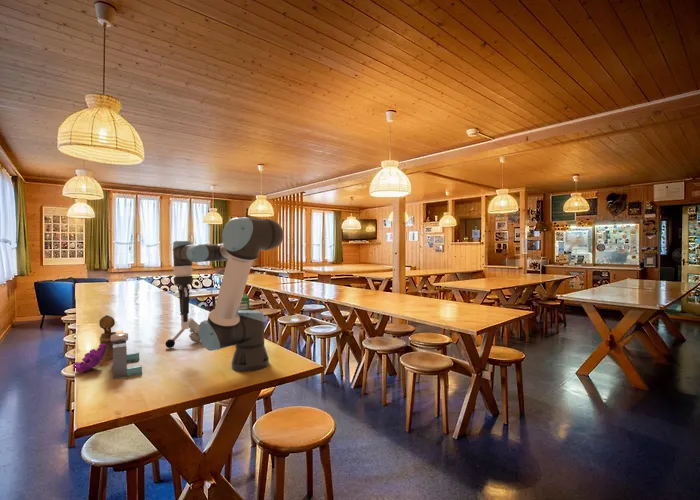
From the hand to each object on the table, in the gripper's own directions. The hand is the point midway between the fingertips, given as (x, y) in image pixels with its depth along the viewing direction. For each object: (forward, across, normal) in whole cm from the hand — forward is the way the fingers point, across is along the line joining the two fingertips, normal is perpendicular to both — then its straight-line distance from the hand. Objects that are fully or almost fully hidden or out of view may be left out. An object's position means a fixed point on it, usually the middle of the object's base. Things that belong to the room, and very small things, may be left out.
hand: (185, 328), depth 159 cm
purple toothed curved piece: (+13, +8, +35) cm, 38 cm away
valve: (+16, +26, -10) cm, 32 cm away
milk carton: (+14, +20, -29) cm, 38 cm away
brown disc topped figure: (+13, +26, +28) cm, 41 cm away
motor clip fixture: (+13, +1, +22) cm, 26 cm away
